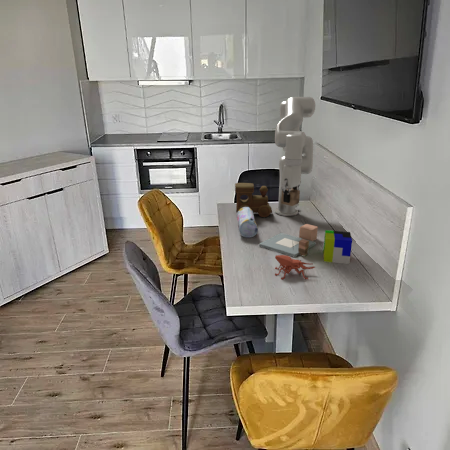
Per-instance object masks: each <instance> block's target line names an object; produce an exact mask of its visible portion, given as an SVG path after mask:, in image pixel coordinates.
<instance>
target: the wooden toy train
mask: <svg viewBox="0 0 450 450" xmlns="http://www.w3.org/2000/svg"><path fill="white" fill-rule="evenodd" d="M254 184H255V183H253V182H252V183H251V182H236V183H235V184H234V192H235V193H236V214H237V212H238V211H239V210H240V209H241V208H243V207H249V208H250V209H251V210H252V211H253V214H257V215H258V216H259V217H260V218H263V217H265V218H268V217H269V216H271V214H273V209H272V207H271V205H270V203H269V197H268V195H267V193H268V191H269V188H268V187H267V186H266V185H262V186H261V187H260V188H259V192H260V195H258V194H257V195H256V194H253V193H254V192H255V185H254ZM242 196H246V197H247V199H242V198H241V197H242Z"/></svg>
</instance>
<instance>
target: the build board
mask: <svg viewBox="0 0 450 450" xmlns="http://www.w3.org/2000/svg"><path fill="white" fill-rule="evenodd" d="M300 240H302V238H299V236H295V235H290V234H288V233H284V232H280V233H278V234H276V235H274V236H272V237H270V238H268V239H266V240H264V241H262V242H260V243H259V245H258V246H259V247H261V248H264V249H267V250H270V251H274V252H277V253H280V254H282V255H286V254H287V255H286V256H289V255H291V256H290V257H292V256H294V257H293V258H296V257H298V256H300V255H299V252H298V249H299V241H300ZM304 240H306V239H304ZM308 241H309V248H308V250H309V249H311V248H312V247H314V246H316V243H317V242H316V241H310V240H308ZM293 246H294V249H293ZM297 255H298V256H297ZM295 256H296V257H295Z"/></svg>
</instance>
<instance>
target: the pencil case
mask: <svg viewBox="0 0 450 450" xmlns="http://www.w3.org/2000/svg"><path fill="white" fill-rule="evenodd" d="M254 215H255V214H254V213H253V211H252V210H251V209H250V208H249V207H243V208H241V209H240V210H239V211H238V212H237V213H236V219H237V223H238V232H239V234H240V236H242V237H244V238H253V237H255V236H256V235H257V234H258V231H259V230H258V229H259V227H258V224H257V223H256V219H255V216H254Z"/></svg>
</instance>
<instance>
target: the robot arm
mask: <svg viewBox="0 0 450 450" xmlns="http://www.w3.org/2000/svg"><path fill="white" fill-rule="evenodd" d="M315 101H316V100H315V99H314V98H313V97H311V96H291V97H288V99H287V100H284V101H282V102H280V104H279V117H280V120H279V122H278V123H277V125H276V127H275V130H274V143H275V146H277V148H282V150H283V153H285V154H284V155H283V156H281V157H280V159H279V161H278V167H279V184H278V185H279V186H278V187H279V188H278V203H277V204H278V205H277V208H276V209H275V210H274V212H275V214H276V215H278V216H285V217H294V216H296V215H299V210H298V209H297V208H298V207H299V205H300V203H298V204H296V205H294V206H290V205H285V204H281V197H282V191H283V194H284V197H283V202H286V203H290V190H291V189H295V190H299V191H300V186H301V183H302V175H309V174H311V173H312V171H313V165H314V163H313V162H314V160H313V159H314V141H313V140H314V139H313V138H312V137H311V136H309V135H307V134H306V133H305V132H304V131H301V130H300V126H301V125H302V124H303V121H304V118H305V119H307V118H312V116H313V115H314V114H315V110H316V102H315ZM286 189H288V191H287V190H286Z"/></svg>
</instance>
